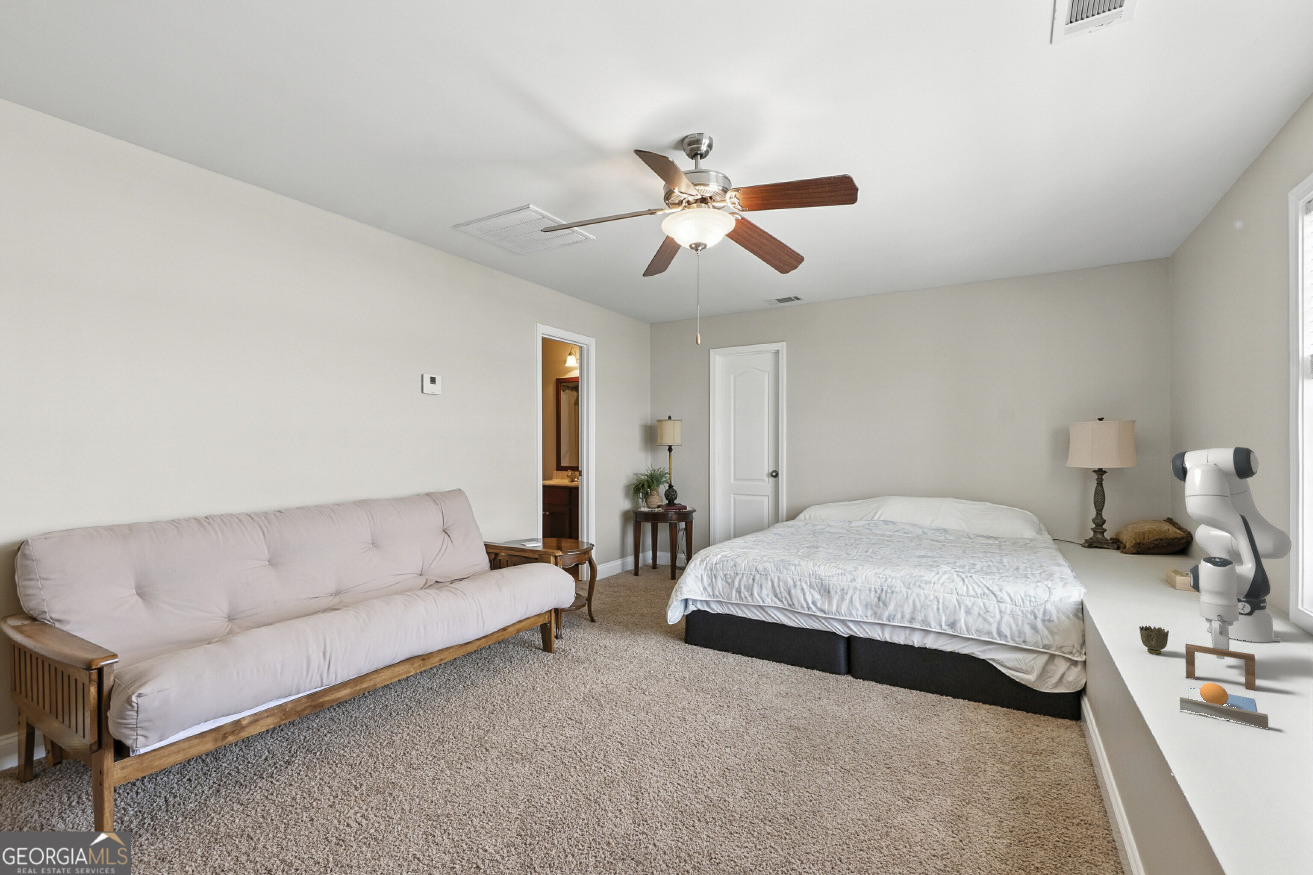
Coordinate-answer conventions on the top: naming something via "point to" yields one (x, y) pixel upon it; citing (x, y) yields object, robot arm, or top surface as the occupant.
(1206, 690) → the ball
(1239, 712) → the wall
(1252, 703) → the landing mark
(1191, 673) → the bridge
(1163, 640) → the cup
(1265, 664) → the top surface
